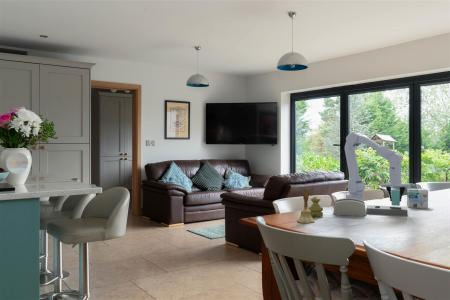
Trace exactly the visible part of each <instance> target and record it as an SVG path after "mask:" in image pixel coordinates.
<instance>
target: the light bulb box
mask: <svg viewBox="0 0 450 300" xmlns="http://www.w3.org/2000/svg"><path fill="white" fill-rule="evenodd" d="M406 191H407V192H406V207H408V208H412V209H414V208H416V209H417V208H418V209H429V189H427V188H406Z"/></svg>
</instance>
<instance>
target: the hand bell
mask: <svg viewBox="0 0 450 300" xmlns="http://www.w3.org/2000/svg"><path fill="white" fill-rule="evenodd" d="M302 197H303V209H301V211H300V215H299V218H298V219H297V221H296V222H297V223H301V224H313V223H315V220H314V219H313V217H311V211H310V210H308V208H309V205H308V201H309V198H310V195H309V190H308V188H304V190H303V195H302Z"/></svg>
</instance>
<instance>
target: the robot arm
mask: <svg viewBox="0 0 450 300" xmlns="http://www.w3.org/2000/svg"><path fill="white" fill-rule="evenodd" d="M362 144H365V145H366V146H368V147H370V148H372V149H373V150H375V151H376V154H377V155H379V156H380V157H382V158H383V159H384V160H386V161H387V163H388V166H389V169H388V170H389V183H380V188H385V190H386V191H387V194H388V197H389V201H390V202H392V198H391V190H392V189H393V188H395V189H396V188H397V189H399V190H400V203H401V202H402V198H403V195H404V193H405V191H406V189H407V188H409V189H412V188H411V187H412V186H411V184H408V183H402V162H403V160H404V159H403V156H402V154H400V153H397V152H396V151H395V150H392V149H390V148H389V146H388V145H380V144H378V142H376V141H374V140H373V139H372V138H370V137H369V136H367V135H366V134H363V133H362V132H357V133H356V132H350V133H349V134H347V136H346V137H345V144H344V153H345V158H346V164H347V165H346V166H347V169H348V175H349V179H348V181H347V184H348V185H347V190H348V192H349V193H346V195H345V198H354V199H359V200H362V201H364V191H365V190H366V185H365V183H364V181H363V179H362V178H361V176H360V173H359V166H358V160H357V155H356V149H357V148H358V147H359V146H360V145H362Z"/></svg>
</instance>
